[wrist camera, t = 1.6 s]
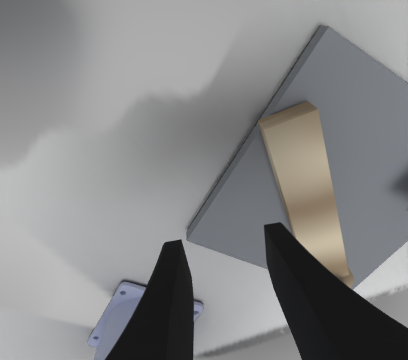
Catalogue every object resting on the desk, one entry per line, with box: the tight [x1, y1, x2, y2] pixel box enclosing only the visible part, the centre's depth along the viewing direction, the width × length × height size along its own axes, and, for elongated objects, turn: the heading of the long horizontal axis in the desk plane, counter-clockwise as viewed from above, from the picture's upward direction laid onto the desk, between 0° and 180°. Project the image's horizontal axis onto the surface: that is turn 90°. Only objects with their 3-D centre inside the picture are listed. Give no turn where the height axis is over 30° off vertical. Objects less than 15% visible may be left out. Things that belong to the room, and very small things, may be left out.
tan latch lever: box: [258, 101, 354, 288], centre depth 20 cm, size 16×4×3 cm, turn 21°
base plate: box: [187, 25, 408, 290], centre depth 21 cm, size 16×16×1 cm
